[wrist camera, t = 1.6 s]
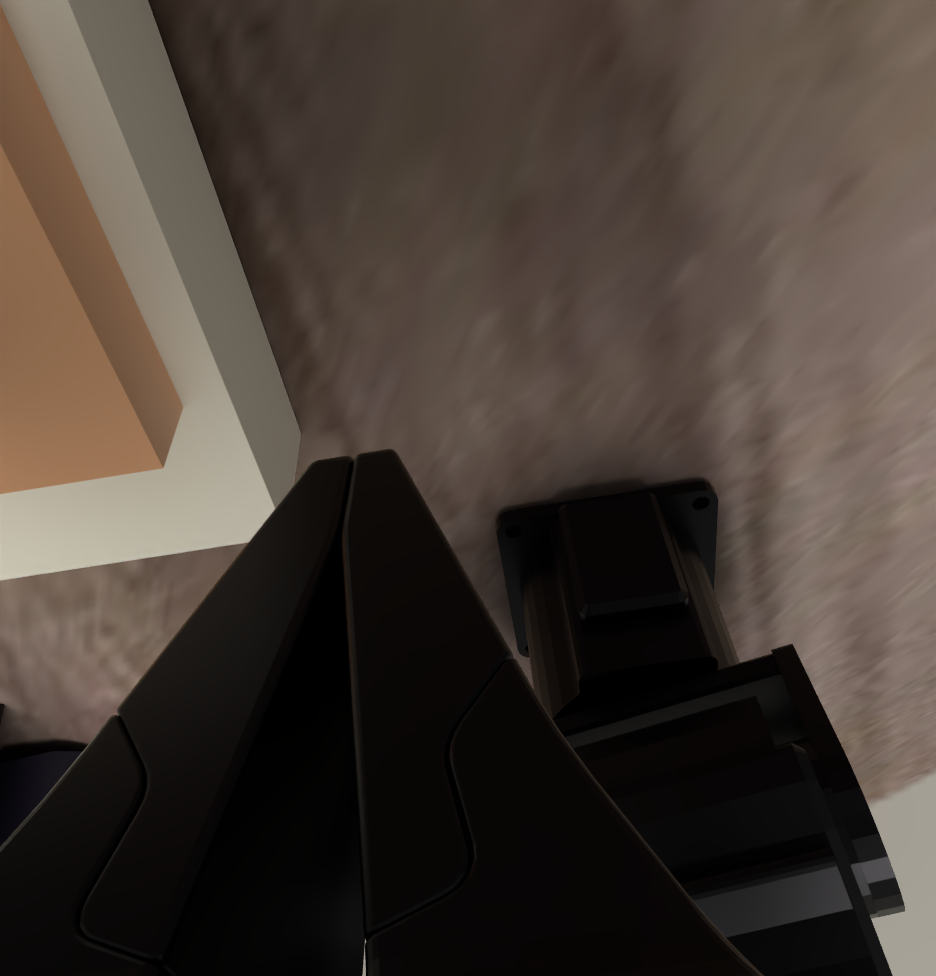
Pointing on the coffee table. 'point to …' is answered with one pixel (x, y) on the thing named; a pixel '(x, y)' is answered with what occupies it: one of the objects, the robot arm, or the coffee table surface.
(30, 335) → the tile
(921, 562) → the coffee table surface
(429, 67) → the coffee table surface
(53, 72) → the cream flat block
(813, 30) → the coffee table surface
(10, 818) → the speaker
